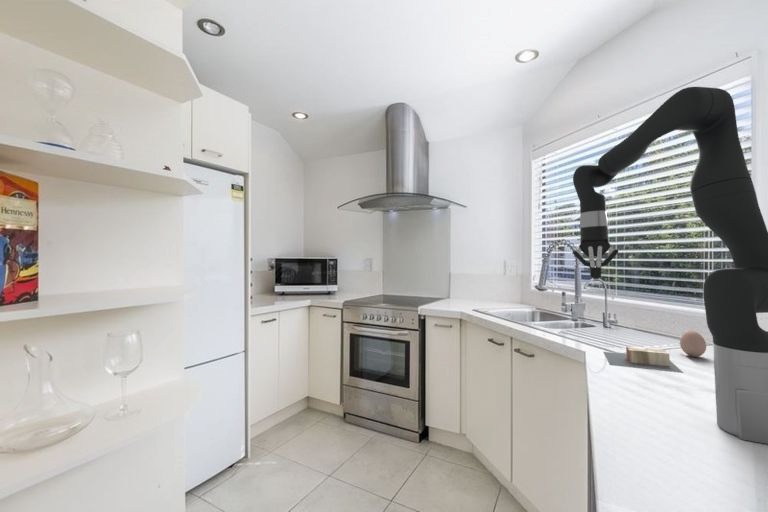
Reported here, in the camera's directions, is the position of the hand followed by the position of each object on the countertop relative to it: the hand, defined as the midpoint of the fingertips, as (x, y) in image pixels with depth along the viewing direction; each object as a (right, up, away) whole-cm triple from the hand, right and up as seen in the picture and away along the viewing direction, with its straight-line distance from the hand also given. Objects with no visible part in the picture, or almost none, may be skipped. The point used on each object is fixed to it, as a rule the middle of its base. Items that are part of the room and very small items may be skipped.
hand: (595, 278), depth 103 cm
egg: (+40, -28, +8) cm, 49 cm away
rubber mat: (+16, -29, +2) cm, 33 cm away
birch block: (+14, -26, +4) cm, 29 cm away
